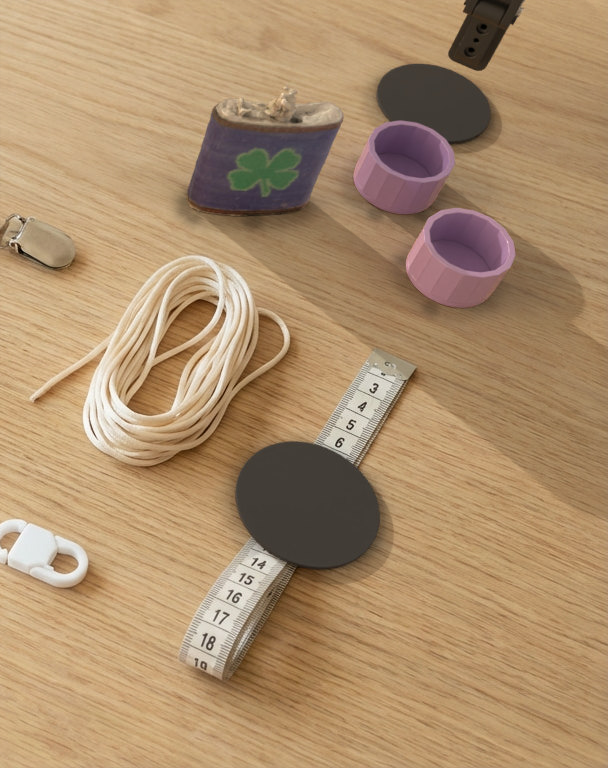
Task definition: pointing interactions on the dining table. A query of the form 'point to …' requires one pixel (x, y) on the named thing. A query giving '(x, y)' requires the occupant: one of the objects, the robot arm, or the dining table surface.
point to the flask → (262, 155)
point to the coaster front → (307, 505)
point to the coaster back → (434, 101)
